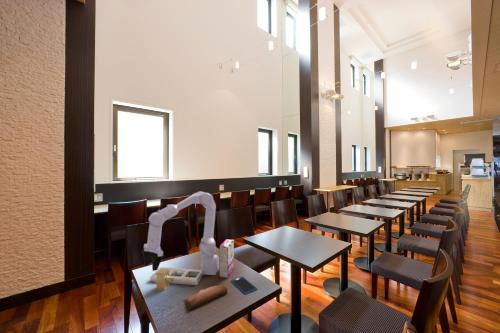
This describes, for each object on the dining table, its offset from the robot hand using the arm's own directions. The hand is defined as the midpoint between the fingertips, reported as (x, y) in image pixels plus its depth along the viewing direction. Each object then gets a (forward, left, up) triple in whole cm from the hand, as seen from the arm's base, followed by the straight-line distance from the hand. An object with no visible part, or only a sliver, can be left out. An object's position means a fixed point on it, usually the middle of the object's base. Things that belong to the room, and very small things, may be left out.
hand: (151, 267), depth 101 cm
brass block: (-5, -2, -10) cm, 11 cm away
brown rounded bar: (-28, +3, -11) cm, 30 cm away
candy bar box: (-32, -20, -10) cm, 39 cm away
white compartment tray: (-8, -11, -10) cm, 17 cm away
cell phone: (-43, -9, -11) cm, 45 cm away
